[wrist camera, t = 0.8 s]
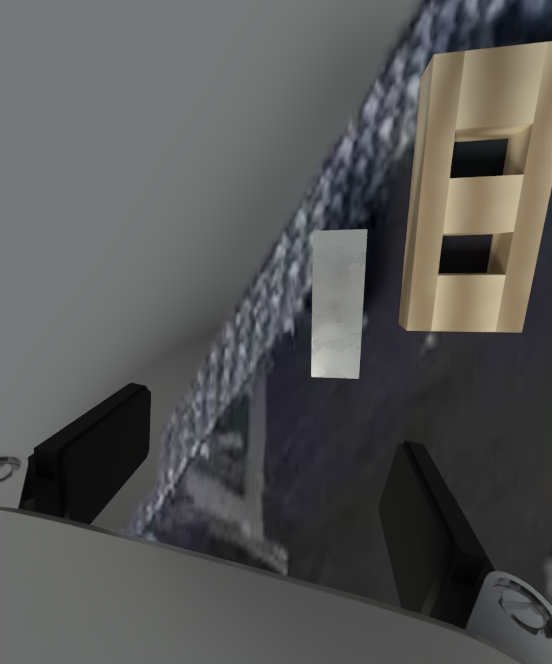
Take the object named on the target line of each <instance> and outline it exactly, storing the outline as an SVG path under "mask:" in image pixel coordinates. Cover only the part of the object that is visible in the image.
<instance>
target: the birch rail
mask: <svg viewBox="0 0 552 664" xmlns="http://www.w3.org/2000/svg"><path fill="white" fill-rule="evenodd" d="M506 138H509V140H508V146H507V152H506V158H505V164H504V170H503V176H486V177H468V178H450V172H451V163H452V155H453V147H454V142H462V141H477V140H491V139H506ZM551 187H552V41H550V42H541V43H532V44H523V45H513V46H504V47H495V48H486V49H477V50H468V51H459V52H449V53H440V54H434V56H433V57H432V59H431V61H430V62H429V64H428V66H427V68H426V69H425V71H424V73H423V74H422V76H421V82H420V93H419V104H418V115H417V126H416V137H415V148H414V159H413V170H412V181H411V192H410V203H409V214H408V225H407V236H406V247H405V258H404V269H403V280H402V291H401V302H400V313H399V324H400V325H401V326H402V327H403V328H404V329H406V330H407V331H462V332H522V329H523V324H524V319H525V314H526V309H527V305H528V300H529V295H530V290H531V285H532V280H533V275H534V270H535V265H536V260H537V256H538V251H539V246H540V241H541V236H542V231H543V226H544V221H545V216H546V211H547V207H548V202H549V197H550V192H551ZM484 234H493V238H492V244H491V250H490V256H489V262H488V268H487V273H438V271H439V262H440V254H441V246H442V238H443V236H447V235H484Z"/></svg>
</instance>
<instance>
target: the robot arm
mask: <svg viewBox="0 0 552 664" xmlns="http://www.w3.org/2000/svg"><path fill="white" fill-rule="evenodd" d="M150 404H151V392H150V391H149V390H148V389H147V387H146V386H145V385H140V384H135V383H129V384H128V385H126V386H125V387H123V388H122V389H120V390H119V391H117V392H116V393H115V394H113V395H112V396H110V397H109V398H107V399H106V400H104V401H103V402H101V403H100V404H98V405H97V406H95V407H94V408H92V409H91V410H89V411H88V412H86V413H85V414H84V415H82V416H81V417H79V418H78V419H76V420H75V421H73V422H72V423H70V424H69V425H67V426H66V427H64V428H63V429H62V430H60V431H59V432H57V433H56V434H54V435H53V436H51V437H50V438H48V439H47V440H45V441H44V442H42V443H41V444H39V445H38V446H37V447H35V448H34V454H32V455H31V456H29V457H28V458H27V457H26V456H24V455H22V454H19V453H2V454H0V664H552V606H551V605H550V604H549V603H548V602H547V601H546V600H545V599H544V598H543V597H542V596H541V595H540V594H539V593H538V592H537V591H536V590H534V589H533V588H532V587H531V586H529V585H528V584H527V583H525V582H523V581H522V580H520V579H519V578H517V577H515V576H513V575H510V574H508V573H505V572H499V571H495V569H494V567H493V566H492V564H491V562H490V560H489V558H488V557H487V555H486V553H485V551H484V550H483V548H482V546H481V544H480V542H479V541H478V539H477V537H476V535H475V534H474V532H473V530H472V528H471V526H470V525H469V523H468V521H467V519H466V517H465V516H464V514H463V512H462V510H461V509H460V507H459V505H458V503H457V501H456V500H455V498H454V496H453V495H452V493H451V492H450V491H449V489H448V487H447V485H446V483H445V482H444V480H443V478H442V476H441V475H440V473H439V471H438V469H437V467H436V466H435V464H434V462H433V460H432V458H431V457H430V455H429V453H428V451H427V449H426V448H425V446H424V445H423V444H420V443H415V442H410V441H405V442H404V443H403V444H399V445H398V446H397V449H396V452H395V456H394V459H393V462H392V465H391V468H390V472H389V475H388V478H387V481H386V484H385V488H384V491H383V494H382V497H381V500H380V504H379V515H380V519H381V524H382V528H383V532H384V536H385V540H386V545H387V549H388V553H389V557H390V562H391V566H392V570H393V574H394V578H395V583H396V587H397V591H398V595H399V600H400V604H401V608H399V607H396V606H392V605H389V604H385V603H382V602H378V601H375V600H372V599H368V598H365V597H361V596H358V595H354V594H350V593H347V592H343V591H339V590H336V589H332V588H328V587H324V586H321V585H317V584H313V583H310V582H306V581H302V580H299V579H295V578H291V577H288V576H284V575H280V574H276V573H273V572H269V571H265V570H262V569H258V568H254V567H250V566H246V565H243V564H239V563H235V562H231V561H228V560H224V559H220V558H216V557H213V556H209V555H205V554H201V553H197V552H193V551H190V550H186V549H182V548H178V547H174V546H171V545H167V544H163V543H159V542H155V541H151V540H147V539H143V538H140V537H136V536H132V535H128V534H124V533H120V532H116V531H112V530H108V529H104V528H101V527H96V526H93V525H90V524H91V523H92V522H93V520H94V519H95V518H96V517H97V516H98V514H99V513H100V512H101V511H102V510H103V509H104V507H105V506H106V505H107V504H108V503H109V501H110V500H111V499H112V498H113V497H114V496H115V494H116V493H117V492H118V491H119V490H120V488H121V487H122V486H123V485H124V484H125V483H126V481H127V480H128V479H129V478H130V477H131V475H132V474H133V473H134V472H135V471H136V470H137V468H138V467H139V466H140V465H141V464H142V462H143V461H144V460H145V459H146V457H147V455H148V452H149V439H150V408H151V405H150Z"/></svg>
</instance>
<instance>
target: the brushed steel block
mask: <svg viewBox="0 0 552 664" xmlns="http://www.w3.org/2000/svg"><path fill="white" fill-rule="evenodd" d="M366 246H367V229H358V230H327V231H313V289H312V368H311V377H331V378H357V379H359V367H360V349H361V332H362V315H363V298H364V280H365V263H366Z"/></svg>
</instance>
